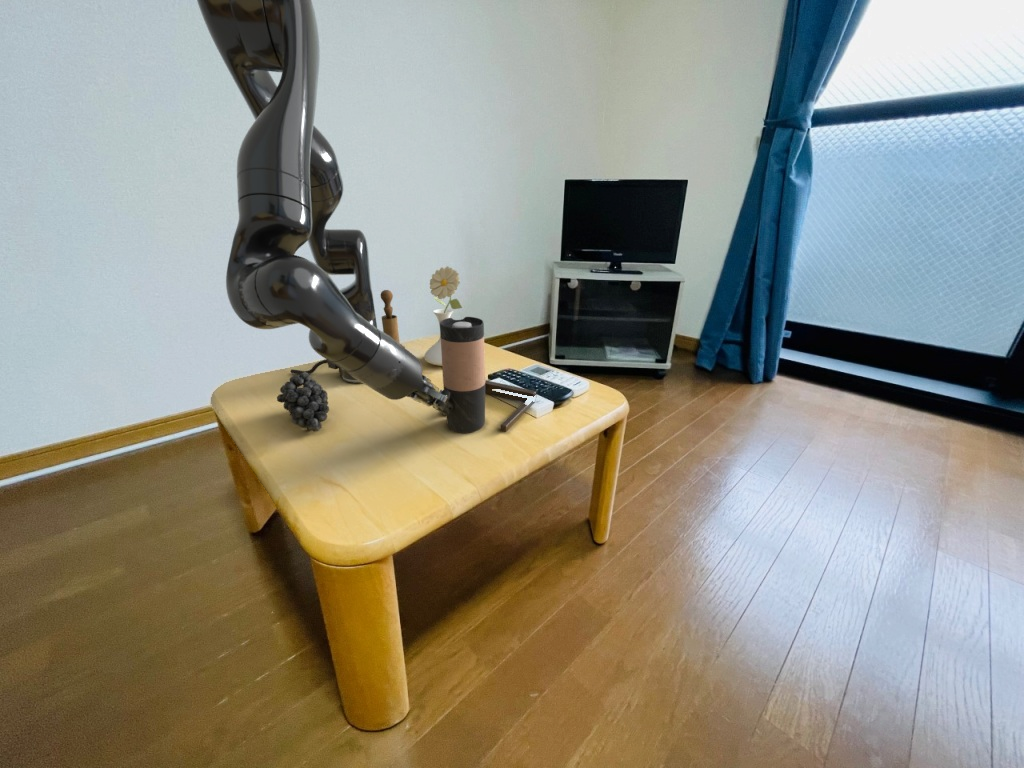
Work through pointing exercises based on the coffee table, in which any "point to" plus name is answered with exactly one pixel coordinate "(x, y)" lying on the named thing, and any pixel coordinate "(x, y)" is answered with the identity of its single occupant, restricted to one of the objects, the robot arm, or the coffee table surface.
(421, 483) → the coffee table surface
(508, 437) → the coffee table surface
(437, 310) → the flower in vase
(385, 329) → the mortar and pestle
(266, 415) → the coffee table surface
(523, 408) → the walnut stand
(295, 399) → the fruit
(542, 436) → the coffee table surface
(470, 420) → the travel mug
